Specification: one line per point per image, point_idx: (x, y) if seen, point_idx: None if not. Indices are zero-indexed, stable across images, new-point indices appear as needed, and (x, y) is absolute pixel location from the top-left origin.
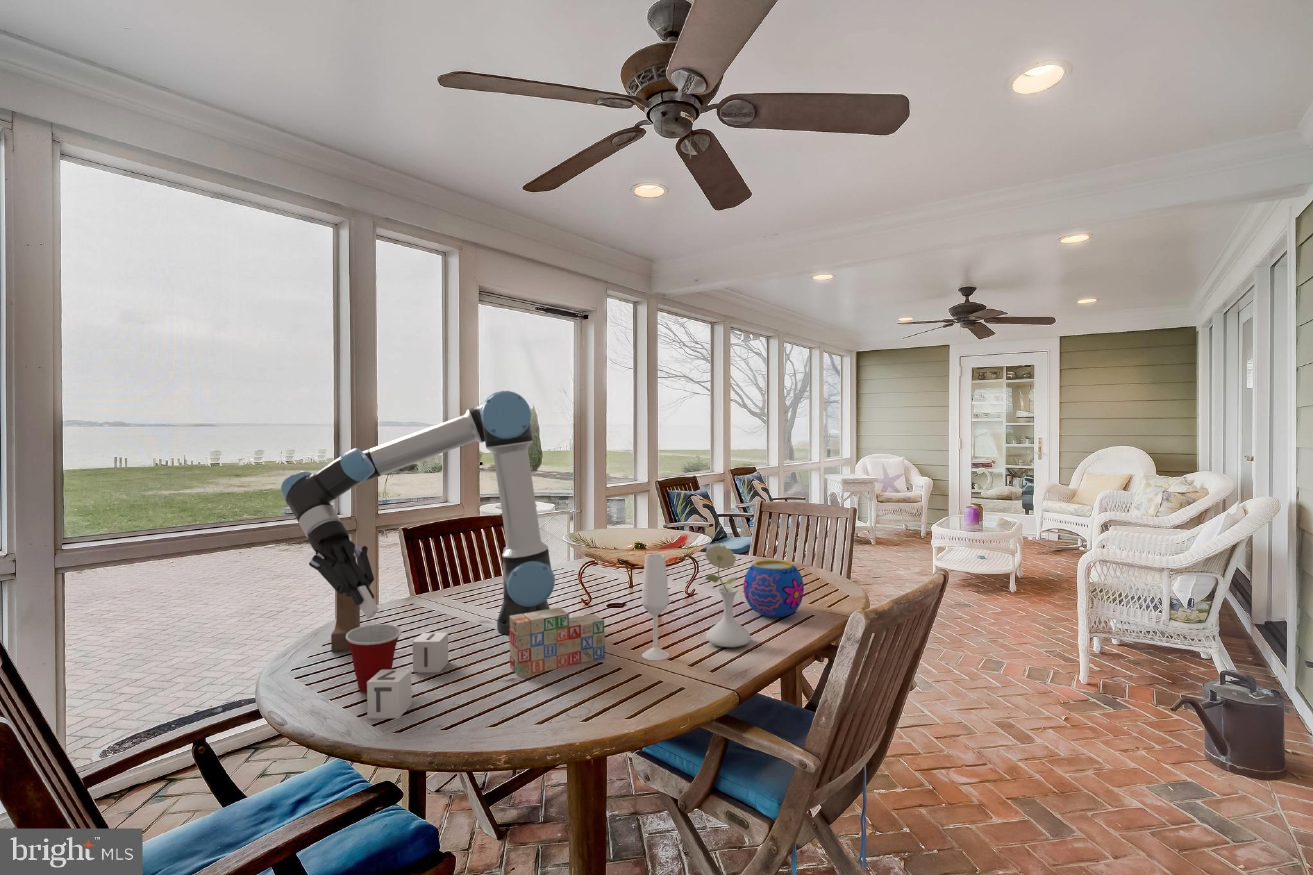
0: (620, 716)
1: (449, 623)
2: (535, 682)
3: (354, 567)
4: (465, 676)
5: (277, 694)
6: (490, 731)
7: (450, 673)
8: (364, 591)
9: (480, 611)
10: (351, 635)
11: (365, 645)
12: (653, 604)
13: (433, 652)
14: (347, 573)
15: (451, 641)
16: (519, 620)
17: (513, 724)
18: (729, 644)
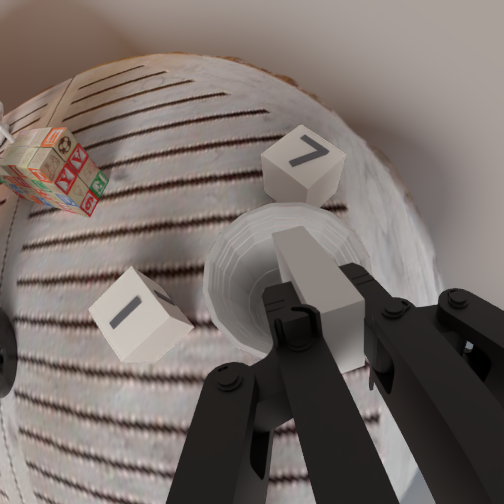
0: (143, 68)
1: (49, 486)
2: (114, 152)
3: (388, 499)
4: (146, 232)
5: None
6: (232, 87)
7: (152, 263)
8: (325, 282)
9: (7, 474)
10: None
11: (331, 224)
12: (1, 104)
13: (150, 284)
14: (465, 401)
15: (73, 413)
16: (55, 136)
17: (207, 87)
18: (8, 125)
